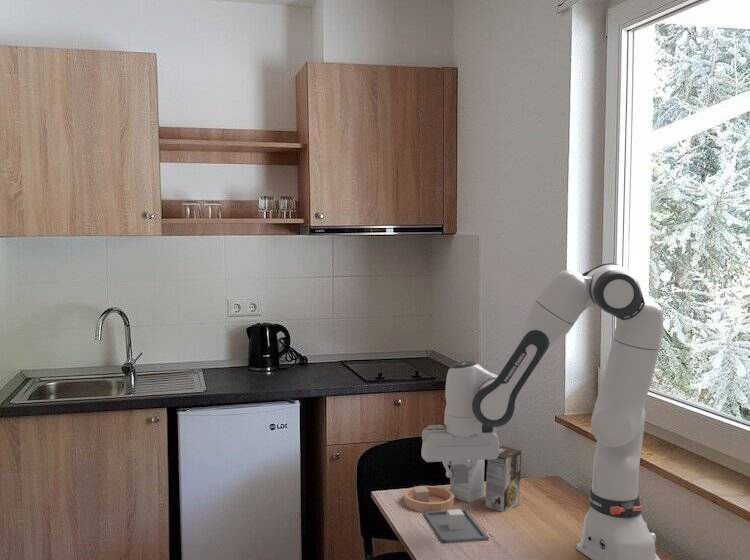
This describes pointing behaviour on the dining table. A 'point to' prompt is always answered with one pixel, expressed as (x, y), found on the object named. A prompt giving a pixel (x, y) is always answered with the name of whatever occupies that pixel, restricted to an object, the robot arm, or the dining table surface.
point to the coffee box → (503, 480)
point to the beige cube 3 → (455, 519)
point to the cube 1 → (421, 494)
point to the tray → (461, 535)
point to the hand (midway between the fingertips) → (459, 476)
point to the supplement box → (470, 483)
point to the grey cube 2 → (459, 473)
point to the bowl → (430, 500)
